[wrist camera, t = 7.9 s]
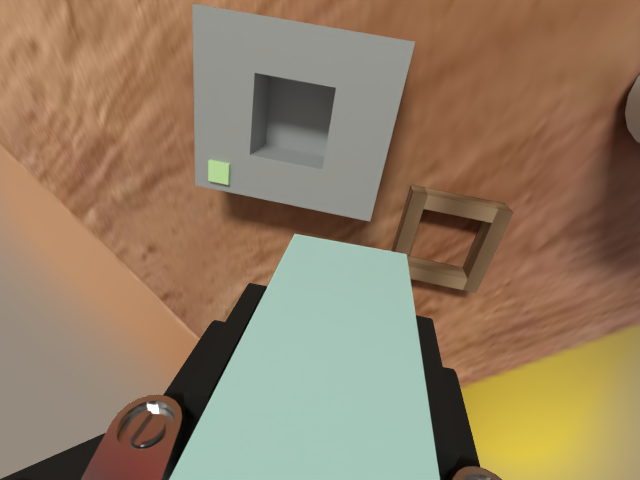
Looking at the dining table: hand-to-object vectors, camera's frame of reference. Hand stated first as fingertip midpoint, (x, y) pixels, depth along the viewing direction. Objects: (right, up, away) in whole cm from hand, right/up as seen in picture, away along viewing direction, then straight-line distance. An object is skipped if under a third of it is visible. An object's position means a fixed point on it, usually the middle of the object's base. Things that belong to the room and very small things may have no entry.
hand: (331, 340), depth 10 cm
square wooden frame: (+11, +3, +21) cm, 23 cm away
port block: (-2, +13, +18) cm, 22 cm away
